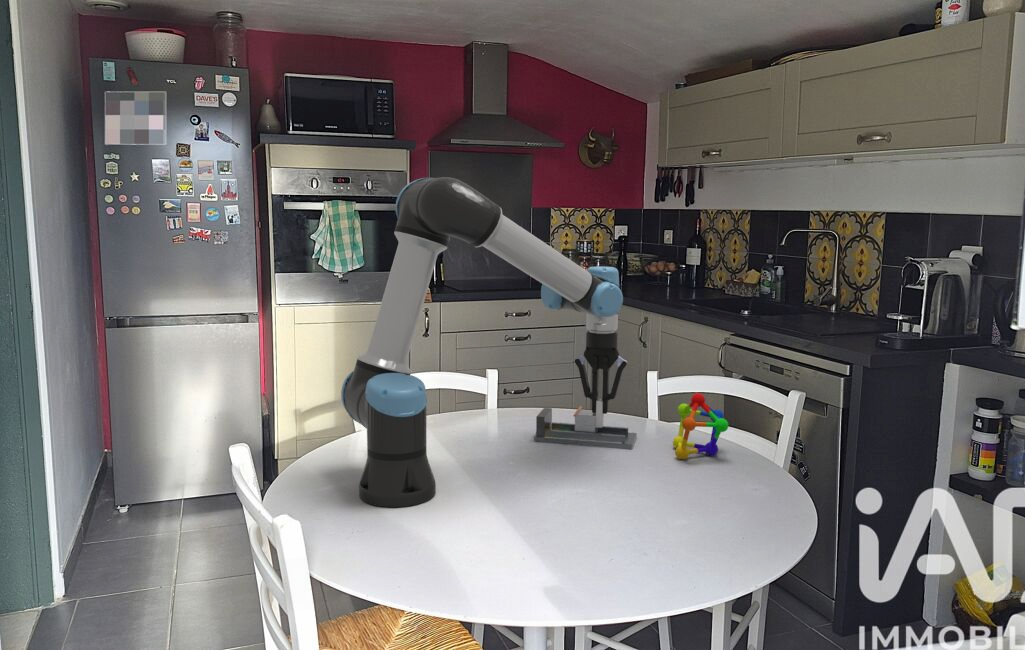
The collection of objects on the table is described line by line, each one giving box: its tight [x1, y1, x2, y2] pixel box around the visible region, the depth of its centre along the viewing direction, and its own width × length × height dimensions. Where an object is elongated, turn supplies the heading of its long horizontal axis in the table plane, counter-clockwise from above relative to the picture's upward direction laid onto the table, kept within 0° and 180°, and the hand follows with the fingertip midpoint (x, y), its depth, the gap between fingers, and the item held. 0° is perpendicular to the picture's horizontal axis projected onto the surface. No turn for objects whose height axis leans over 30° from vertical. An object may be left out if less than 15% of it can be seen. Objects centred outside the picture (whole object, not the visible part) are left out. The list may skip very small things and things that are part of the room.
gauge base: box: [533, 407, 638, 450], centre depth 201 cm, size 24×10×6 cm, turn 76°
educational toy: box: [672, 392, 729, 460], centre depth 190 cm, size 16×13×15 cm
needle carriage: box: [573, 405, 598, 433], centre depth 201 cm, size 5×9×6 cm, turn 166°
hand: (599, 426), depth 200 cm, fingers closed
